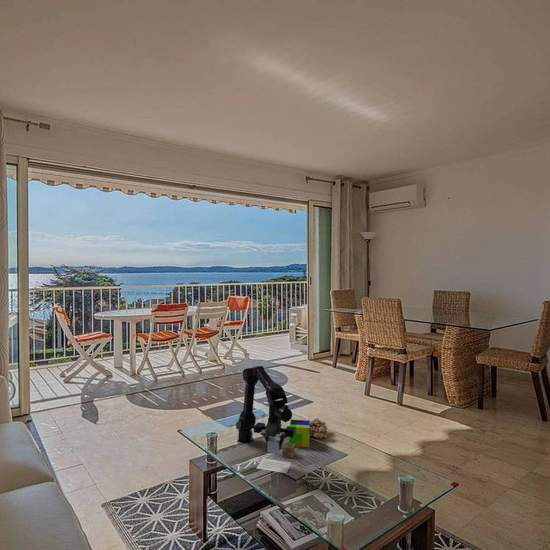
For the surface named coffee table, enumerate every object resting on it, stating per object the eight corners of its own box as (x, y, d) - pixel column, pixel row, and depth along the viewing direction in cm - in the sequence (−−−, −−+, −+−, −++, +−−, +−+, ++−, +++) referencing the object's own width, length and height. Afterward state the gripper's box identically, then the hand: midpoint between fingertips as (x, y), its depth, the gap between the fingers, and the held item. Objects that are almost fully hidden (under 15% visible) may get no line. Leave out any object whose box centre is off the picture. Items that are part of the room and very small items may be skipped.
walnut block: (282, 457, 194) (282, 447, 194) (284, 452, 199) (284, 442, 199) (292, 458, 193) (292, 448, 193) (294, 454, 198) (294, 444, 198)
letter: (256, 468, 182) (256, 468, 182) (262, 458, 192) (262, 458, 192) (286, 473, 179) (286, 473, 179) (291, 463, 188) (291, 462, 188)
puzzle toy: (309, 439, 215) (309, 420, 215) (308, 447, 205) (309, 428, 205) (290, 438, 216) (290, 419, 216) (289, 446, 206) (289, 426, 206)
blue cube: (267, 452, 184) (267, 441, 183) (270, 447, 188) (270, 436, 188) (278, 453, 182) (278, 442, 182) (280, 448, 187) (281, 438, 187)
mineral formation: (299, 436, 218) (311, 425, 231) (322, 446, 212) (333, 434, 225) (301, 422, 217) (313, 412, 230) (324, 432, 210) (335, 421, 223)
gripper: (250, 418, 180) (249, 453, 180) (290, 423, 175) (290, 459, 175) (257, 409, 190) (257, 442, 191) (296, 414, 185) (295, 448, 186)
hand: (274, 448), depth 185 cm, fingers closed on blue cube, 5 cm apart
